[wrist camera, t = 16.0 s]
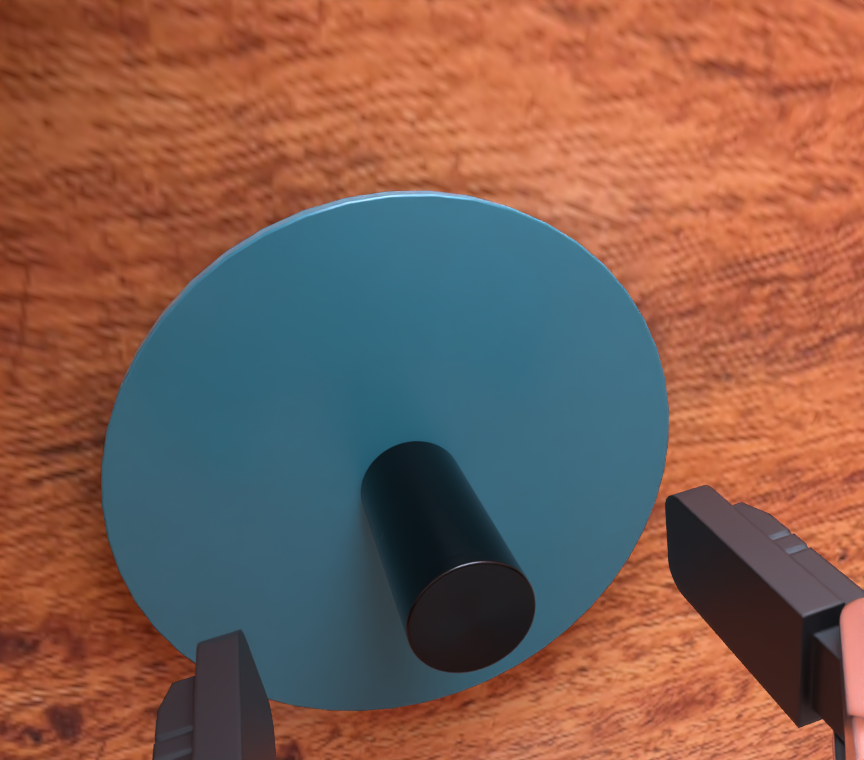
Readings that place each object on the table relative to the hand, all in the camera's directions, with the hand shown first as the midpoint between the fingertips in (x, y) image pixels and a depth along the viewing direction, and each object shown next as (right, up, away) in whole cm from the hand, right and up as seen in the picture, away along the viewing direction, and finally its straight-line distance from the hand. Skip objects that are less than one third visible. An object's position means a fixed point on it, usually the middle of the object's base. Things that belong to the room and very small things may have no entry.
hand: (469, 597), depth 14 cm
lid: (-1, +2, +4) cm, 5 cm away
